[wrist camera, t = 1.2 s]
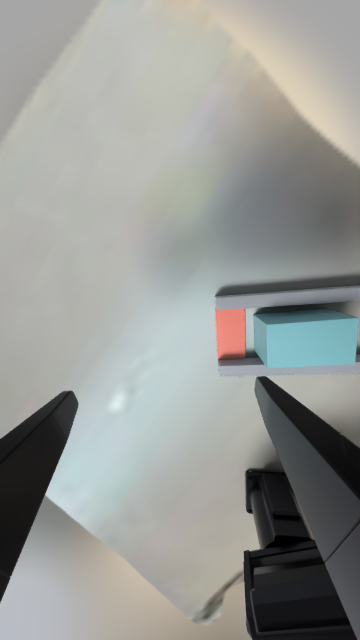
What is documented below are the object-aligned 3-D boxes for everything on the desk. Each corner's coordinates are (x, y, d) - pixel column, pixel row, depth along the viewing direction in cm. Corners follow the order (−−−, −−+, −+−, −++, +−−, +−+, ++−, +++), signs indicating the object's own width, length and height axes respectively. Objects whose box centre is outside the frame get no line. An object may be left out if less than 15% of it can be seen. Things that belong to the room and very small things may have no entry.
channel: (463, 362, 19) (490, 370, 17) (218, 368, 22) (219, 376, 20) (485, 275, 17) (517, 275, 15) (214, 296, 20) (215, 298, 19)
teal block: (322, 345, 20) (354, 364, 16) (254, 349, 21) (267, 368, 17) (324, 308, 19) (359, 317, 15) (253, 314, 20) (266, 324, 16)
